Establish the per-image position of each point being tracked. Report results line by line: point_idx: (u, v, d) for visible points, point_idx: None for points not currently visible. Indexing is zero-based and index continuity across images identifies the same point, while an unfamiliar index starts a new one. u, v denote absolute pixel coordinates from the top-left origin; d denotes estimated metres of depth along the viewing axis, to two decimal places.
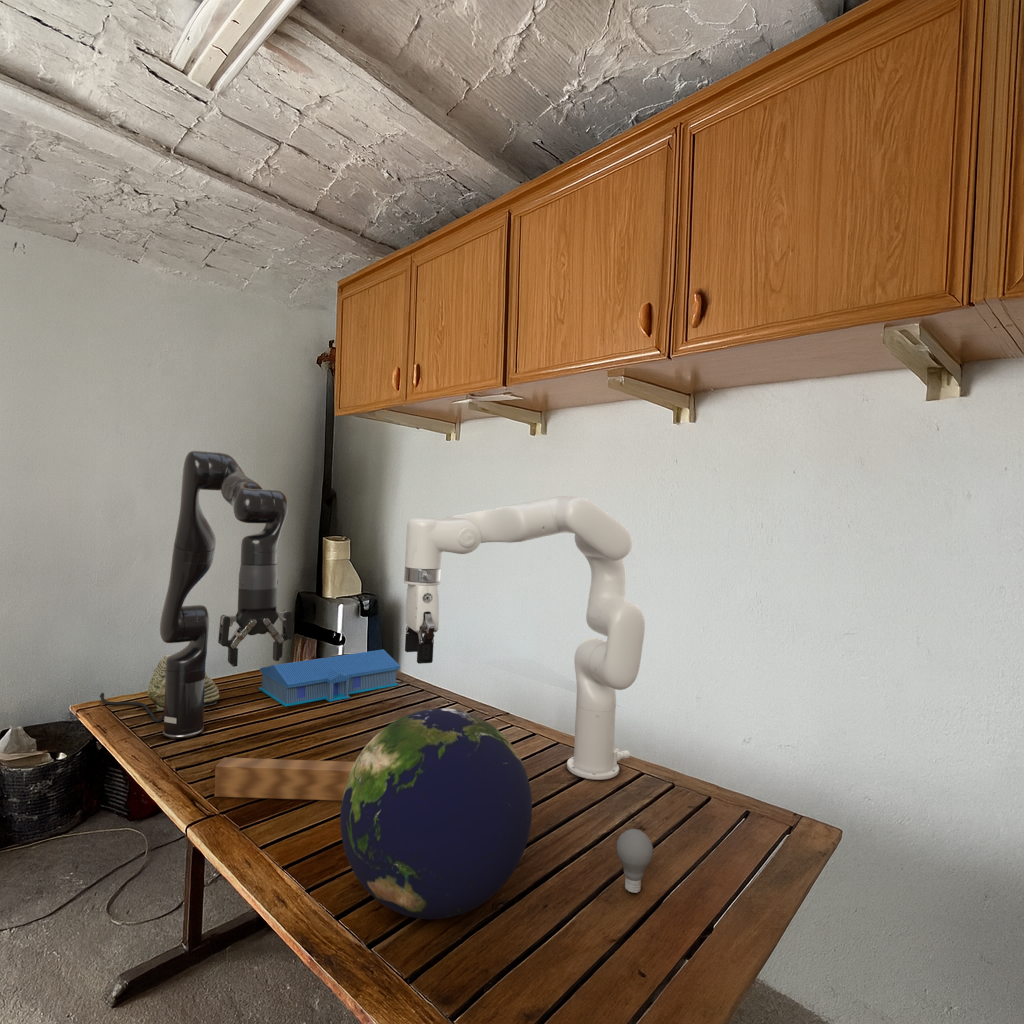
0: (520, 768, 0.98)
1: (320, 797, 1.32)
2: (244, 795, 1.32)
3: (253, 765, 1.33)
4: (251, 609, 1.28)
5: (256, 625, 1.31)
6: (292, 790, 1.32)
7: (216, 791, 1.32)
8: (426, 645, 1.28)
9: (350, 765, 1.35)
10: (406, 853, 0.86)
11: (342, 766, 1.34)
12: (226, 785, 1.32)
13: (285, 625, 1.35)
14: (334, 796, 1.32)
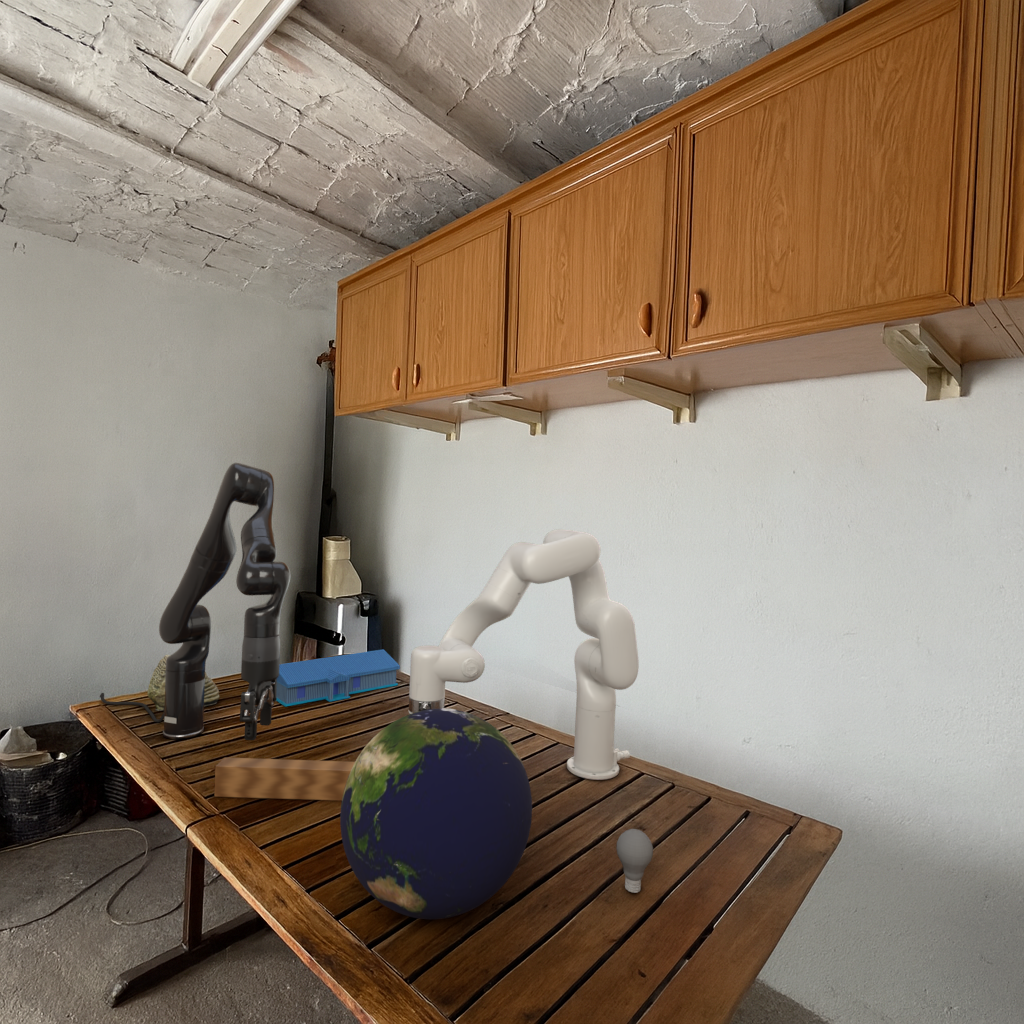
0: (520, 768, 0.98)
1: (320, 797, 1.32)
2: (244, 795, 1.32)
3: (253, 765, 1.33)
4: None
5: None
6: (292, 790, 1.32)
7: (216, 791, 1.32)
8: None
9: (350, 765, 1.35)
10: (406, 853, 0.86)
11: (342, 766, 1.34)
12: (226, 785, 1.32)
13: None
14: (334, 796, 1.32)
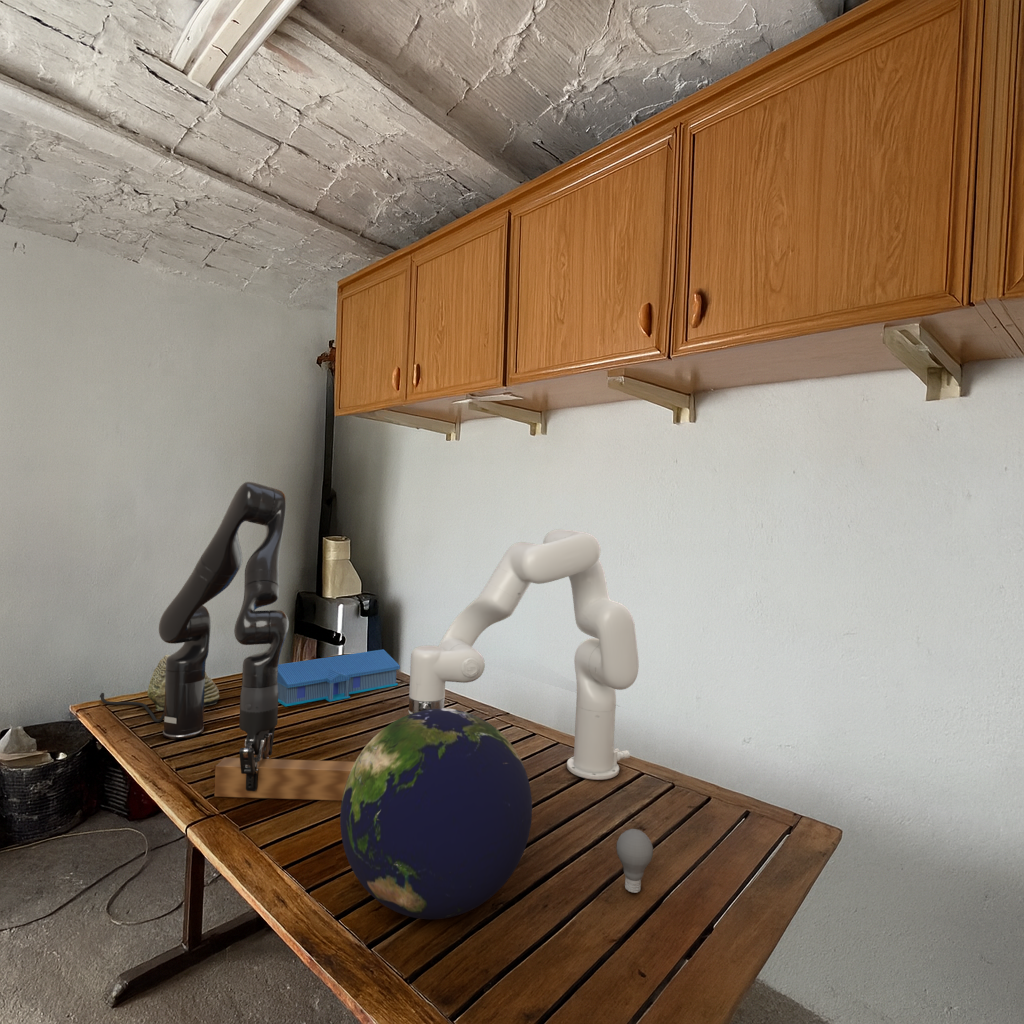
0: (520, 768, 0.98)
1: (320, 797, 1.32)
2: (244, 794, 1.32)
3: None
4: None
5: None
6: (292, 790, 1.32)
7: (216, 791, 1.32)
8: None
9: (350, 765, 1.35)
10: (406, 853, 0.86)
11: (342, 766, 1.34)
12: (226, 785, 1.32)
13: None
14: (334, 796, 1.32)
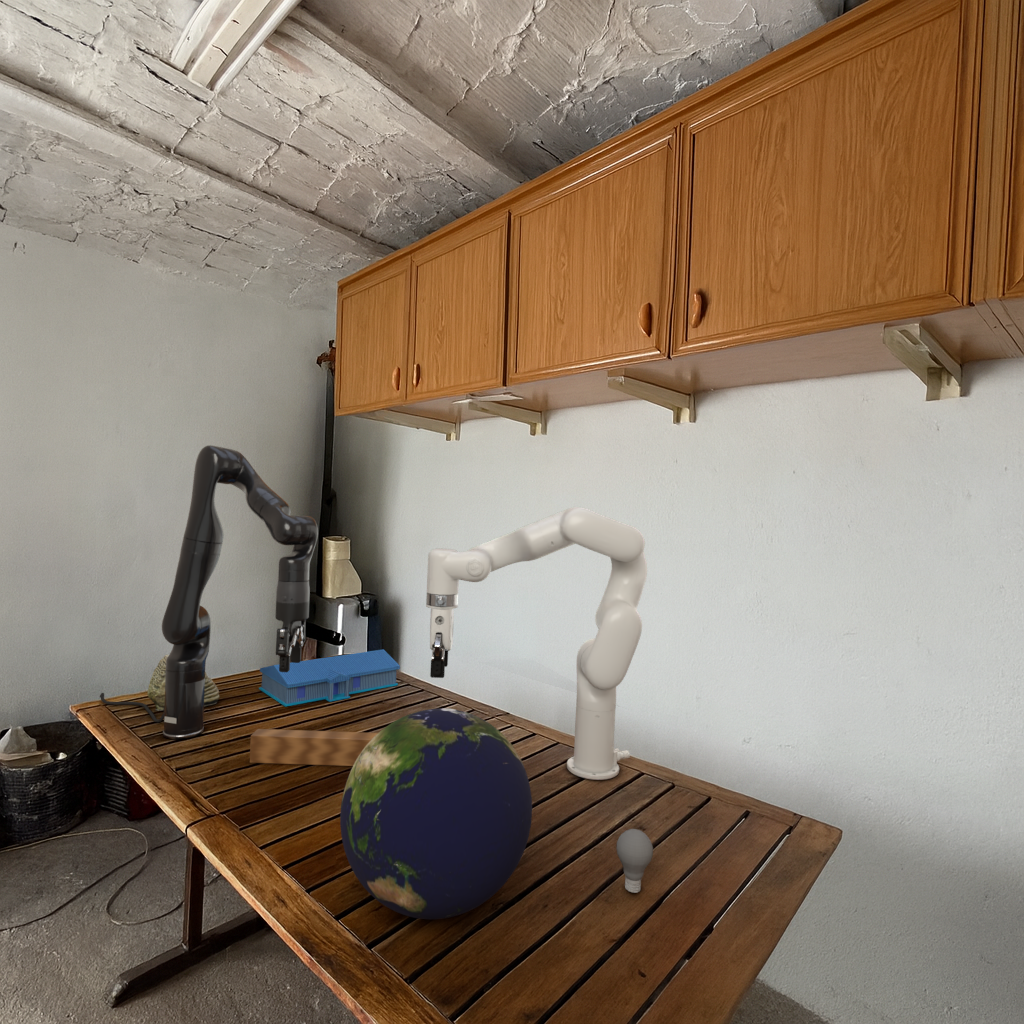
0: (520, 768, 0.98)
1: (343, 763, 1.49)
2: (275, 761, 1.49)
3: (284, 734, 1.50)
4: None
5: None
6: (319, 757, 1.49)
7: (251, 758, 1.49)
8: (437, 662, 1.46)
9: (370, 735, 1.52)
10: (406, 853, 0.86)
11: (363, 736, 1.51)
12: (260, 752, 1.49)
13: None
14: None
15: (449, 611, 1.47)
